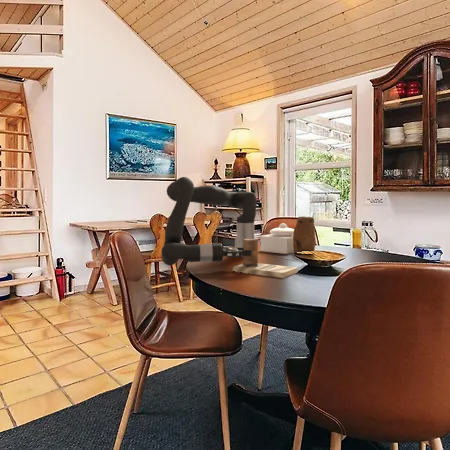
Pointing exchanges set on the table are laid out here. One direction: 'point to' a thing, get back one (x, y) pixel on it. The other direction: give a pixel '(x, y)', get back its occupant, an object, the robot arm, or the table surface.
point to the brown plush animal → (304, 235)
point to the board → (267, 270)
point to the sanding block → (253, 246)
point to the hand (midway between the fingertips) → (248, 251)
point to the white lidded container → (278, 240)
